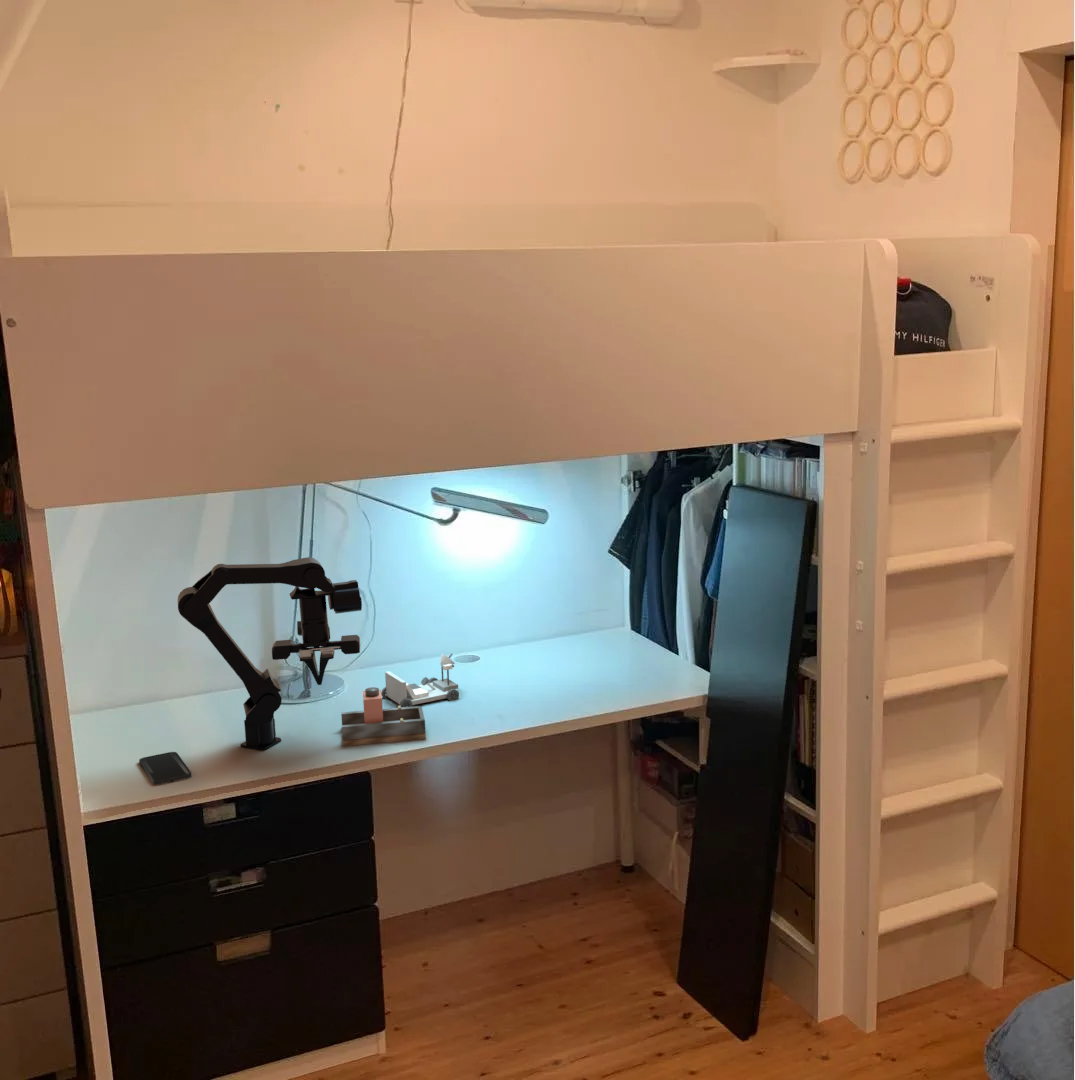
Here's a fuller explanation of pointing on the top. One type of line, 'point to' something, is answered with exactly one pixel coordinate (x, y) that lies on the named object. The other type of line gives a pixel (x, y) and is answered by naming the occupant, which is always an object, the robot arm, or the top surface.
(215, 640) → the robot arm
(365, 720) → the slider
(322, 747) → the top surface
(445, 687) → the toy car
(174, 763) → the phone
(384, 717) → the track
